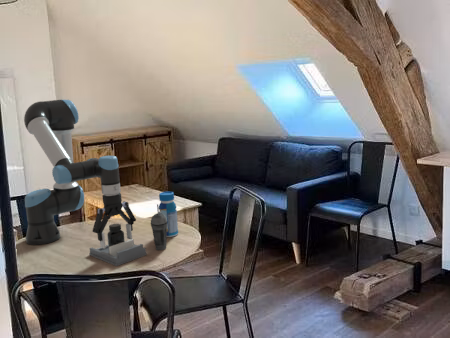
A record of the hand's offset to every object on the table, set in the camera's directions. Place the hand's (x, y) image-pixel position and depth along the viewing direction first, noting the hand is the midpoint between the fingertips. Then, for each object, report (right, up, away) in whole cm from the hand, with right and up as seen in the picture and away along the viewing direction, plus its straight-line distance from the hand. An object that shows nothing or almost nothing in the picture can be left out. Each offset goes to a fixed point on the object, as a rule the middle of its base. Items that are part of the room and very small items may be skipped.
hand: (116, 243), depth 204 cm
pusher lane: (0, -5, +1) cm, 5 cm away
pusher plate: (+3, -4, -2) cm, 5 cm away
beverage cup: (+18, -3, +6) cm, 19 cm away
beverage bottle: (+20, 0, +24) cm, 31 cm away
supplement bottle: (0, -4, +1) cm, 4 cm away
